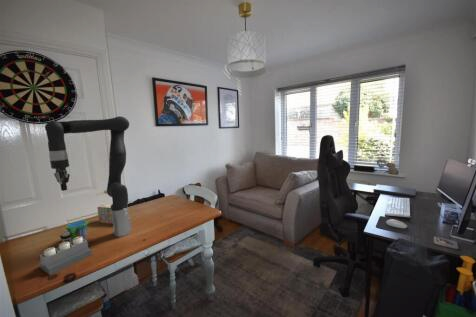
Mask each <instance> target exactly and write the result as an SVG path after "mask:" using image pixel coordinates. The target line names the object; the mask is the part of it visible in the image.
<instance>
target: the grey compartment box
mask: <svg viewBox="0 0 476 317" xmlns="http://www.w3.org/2000/svg"><path fill="white" fill-rule="evenodd" d="M55 251H56V254H54V255H51V256H49V257H47V258H45V256H44V253H42V254H40V255H39V258H40V261H38V264H39V268H40V269H41V270H42V271H44V272H45V273H46V274H48V275H49V276H52V275H54V274H55V273H57V272H59V271H61V270H64V269H66V268H68V267H71V266H72V265H74V264H76V263H78V262H80V261H82V260H84V259H86V258H89V257H91V256H92V255H93V254H92V249H91V248H89V244H88V240H86V238H85V239H83V242H82V243H79V244H77V245H73V242H72V241H71V243H70V248H68V249H65V250H63V251H60V249H59V247H57V248H55Z"/></svg>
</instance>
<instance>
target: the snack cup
mask: <svg viewBox="0 0 476 317" xmlns="http://www.w3.org/2000/svg"><path fill="white" fill-rule="evenodd" d="M87 226H88V221H87V220H78V221H73V222H71V223H69V224H67V225H65V229H66V232H70V233H72V236H71V242H73V239H74V238H76V237H80V236H81V237H83V239H85V240H86V238H87V234H88V233H87V232H88V230H87V229H88V227H87Z"/></svg>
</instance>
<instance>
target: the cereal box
mask: <svg viewBox="0 0 476 317" xmlns="http://www.w3.org/2000/svg"><path fill="white" fill-rule="evenodd" d="M112 204H113V203H110V204H109V203H103V204H100V205H98V206H97V207H96V208H97V214H98V222H99V223H103V224H112V225H113V221H112V213H111V205H112ZM128 215H129V213H128ZM129 216H130V215H129Z"/></svg>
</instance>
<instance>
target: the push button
mask: <svg viewBox="0 0 476 317" xmlns="http://www.w3.org/2000/svg"><path fill="white" fill-rule="evenodd" d="M71 236H72V233H70V232H68V231H65V232H63V233H61V234H60V236H59V237H60V239H61V240H62V243H63V242H69V243H71V242H72V241H71Z"/></svg>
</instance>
